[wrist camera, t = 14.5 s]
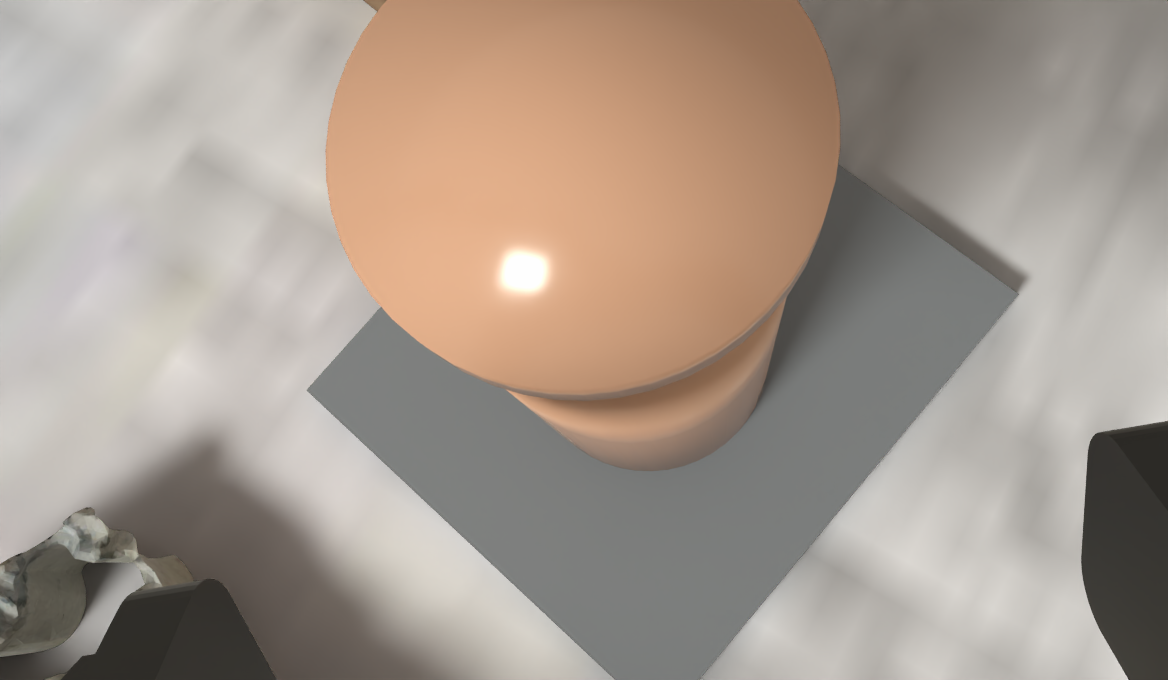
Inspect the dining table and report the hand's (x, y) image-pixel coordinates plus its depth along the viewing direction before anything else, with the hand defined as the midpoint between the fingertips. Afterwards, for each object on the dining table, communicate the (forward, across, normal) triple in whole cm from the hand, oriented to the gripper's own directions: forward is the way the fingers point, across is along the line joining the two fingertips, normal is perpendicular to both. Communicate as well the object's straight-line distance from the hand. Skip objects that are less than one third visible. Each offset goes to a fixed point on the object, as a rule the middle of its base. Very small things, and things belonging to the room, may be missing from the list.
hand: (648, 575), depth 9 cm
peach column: (+12, 0, +6) cm, 14 cm away
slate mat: (+13, 0, +6) cm, 14 cm away
